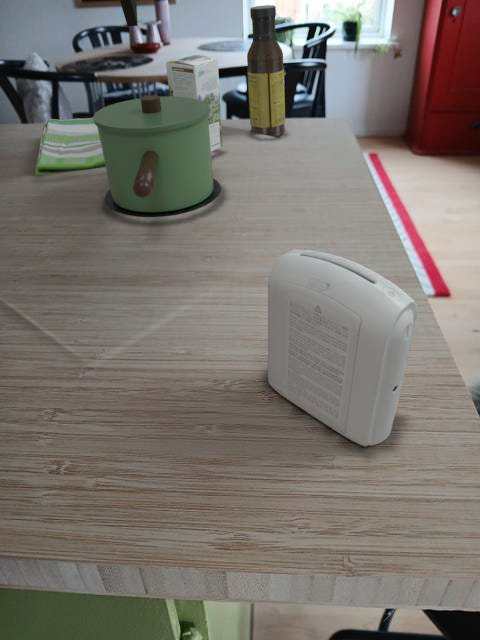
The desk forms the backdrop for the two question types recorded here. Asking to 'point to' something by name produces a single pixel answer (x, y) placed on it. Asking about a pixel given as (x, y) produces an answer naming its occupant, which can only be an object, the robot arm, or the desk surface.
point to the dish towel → (69, 147)
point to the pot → (156, 152)
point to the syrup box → (198, 88)
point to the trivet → (208, 200)
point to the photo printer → (338, 342)
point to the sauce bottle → (265, 75)
